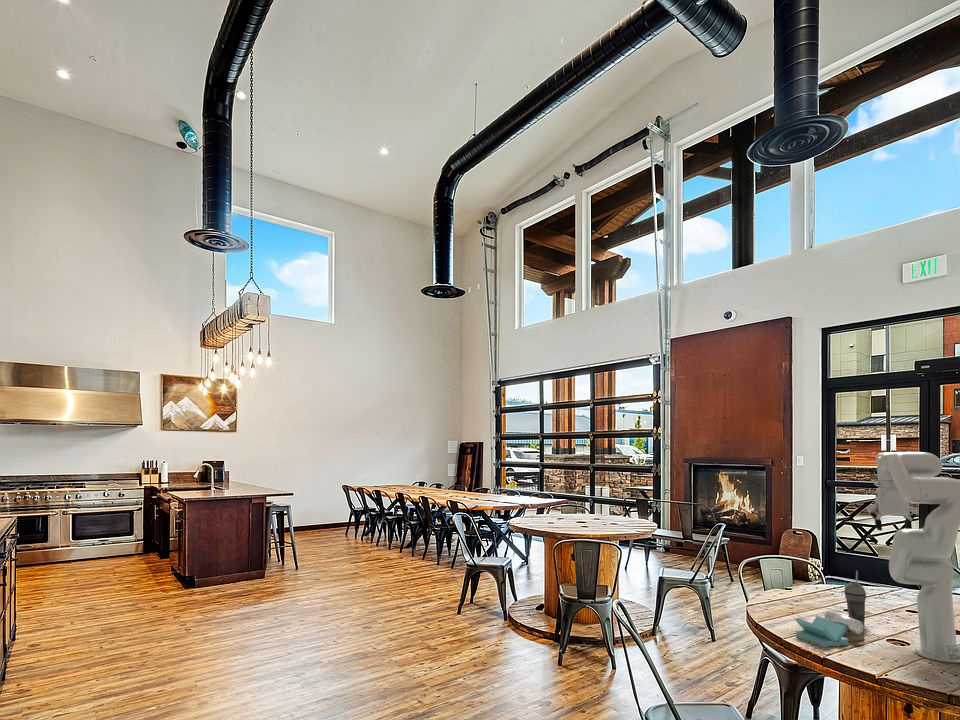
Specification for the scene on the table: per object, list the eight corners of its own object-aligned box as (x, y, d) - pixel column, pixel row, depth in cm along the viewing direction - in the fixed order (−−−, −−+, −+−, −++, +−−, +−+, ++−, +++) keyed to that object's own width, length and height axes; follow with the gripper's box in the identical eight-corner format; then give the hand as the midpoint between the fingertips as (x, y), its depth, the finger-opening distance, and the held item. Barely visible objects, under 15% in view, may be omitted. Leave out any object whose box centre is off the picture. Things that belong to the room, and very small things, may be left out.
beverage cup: (847, 620, 232) (844, 567, 235) (869, 624, 227) (865, 570, 230) (844, 625, 226) (840, 570, 229) (867, 628, 222) (863, 573, 225)
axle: (863, 633, 207) (862, 620, 208) (853, 634, 206) (852, 620, 206) (834, 623, 218) (833, 610, 219) (825, 624, 217) (824, 611, 218)
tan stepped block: (864, 640, 209) (863, 627, 210) (844, 642, 207) (843, 629, 207) (840, 631, 219) (839, 619, 219) (820, 633, 216) (819, 621, 217)
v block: (848, 645, 203) (847, 625, 204) (824, 647, 201) (822, 628, 201) (819, 634, 215) (818, 616, 216) (796, 636, 212) (795, 618, 213)
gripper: (868, 485, 229) (871, 530, 226) (920, 486, 224) (924, 533, 222) (861, 483, 236) (864, 528, 233) (911, 485, 231) (915, 530, 229)
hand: (893, 530), depth 228 cm, fingers open, 9 cm apart
